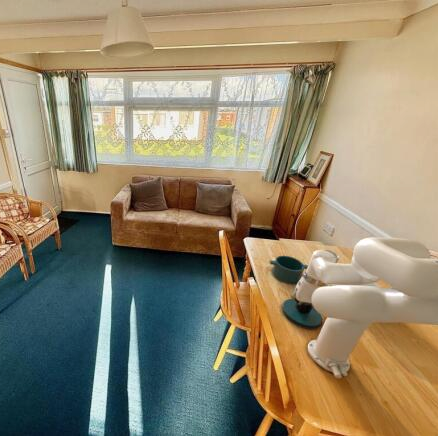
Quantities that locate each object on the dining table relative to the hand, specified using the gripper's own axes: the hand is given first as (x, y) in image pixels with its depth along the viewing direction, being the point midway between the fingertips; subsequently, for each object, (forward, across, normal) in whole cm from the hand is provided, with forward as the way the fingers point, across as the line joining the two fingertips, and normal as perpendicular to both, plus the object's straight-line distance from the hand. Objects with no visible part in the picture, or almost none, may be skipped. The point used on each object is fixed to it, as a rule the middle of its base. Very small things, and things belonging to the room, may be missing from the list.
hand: (302, 310), depth 101 cm
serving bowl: (+3, +29, +17) cm, 34 cm away
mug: (+3, +23, +40) cm, 46 cm away
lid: (+1, 0, 0) cm, 1 cm away
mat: (+3, 0, 0) cm, 3 cm away
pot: (+3, +1, +28) cm, 28 cm away
